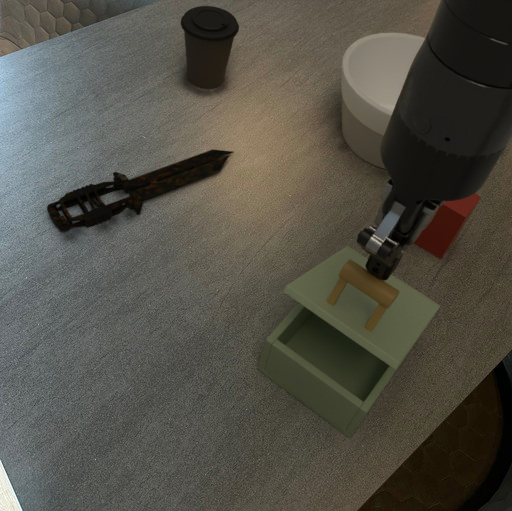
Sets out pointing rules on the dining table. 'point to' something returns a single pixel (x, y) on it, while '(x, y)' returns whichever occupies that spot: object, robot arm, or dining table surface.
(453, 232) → the block
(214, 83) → the coffee cup
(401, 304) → the lid
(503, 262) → the dining table surface
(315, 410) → the chest
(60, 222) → the knife
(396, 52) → the bowl
